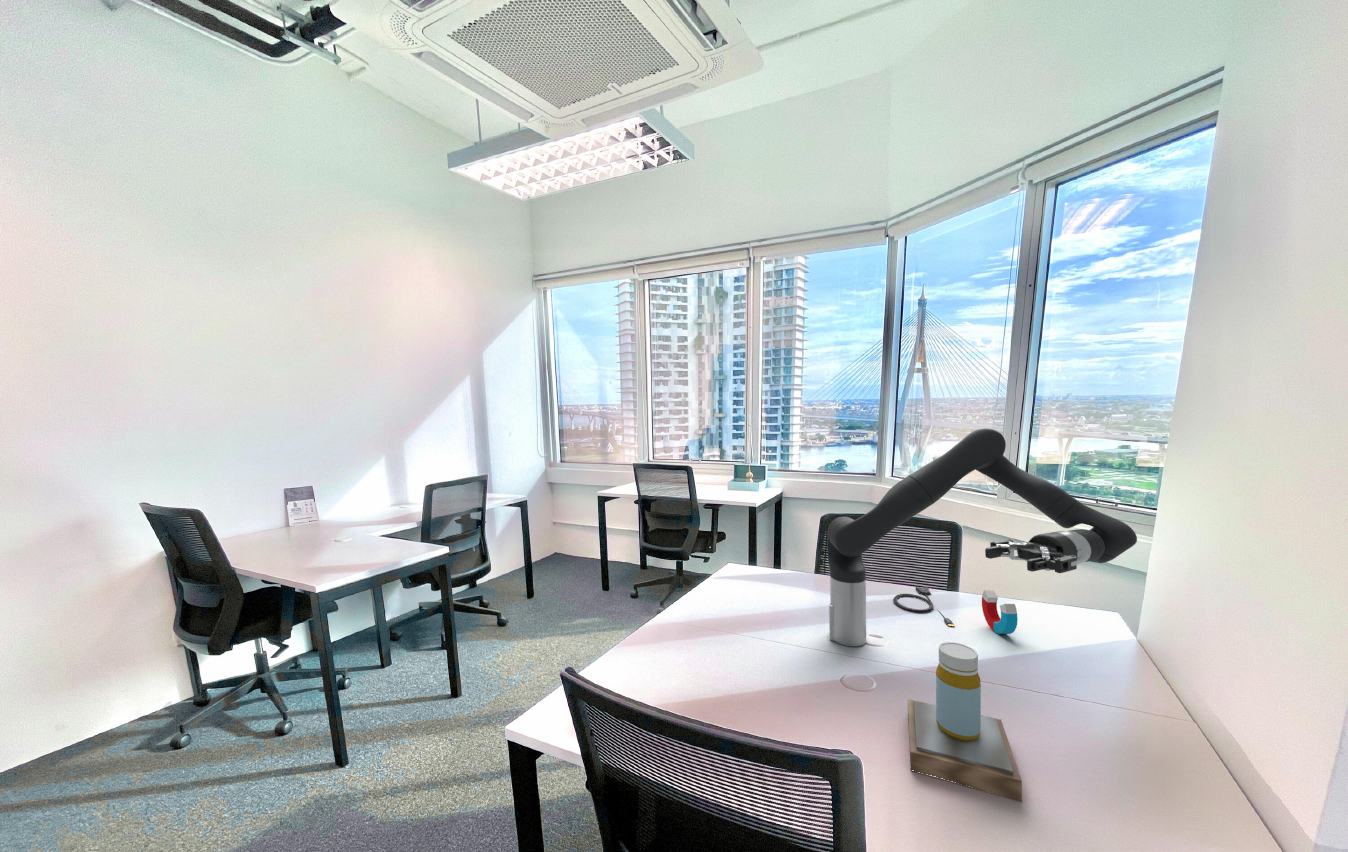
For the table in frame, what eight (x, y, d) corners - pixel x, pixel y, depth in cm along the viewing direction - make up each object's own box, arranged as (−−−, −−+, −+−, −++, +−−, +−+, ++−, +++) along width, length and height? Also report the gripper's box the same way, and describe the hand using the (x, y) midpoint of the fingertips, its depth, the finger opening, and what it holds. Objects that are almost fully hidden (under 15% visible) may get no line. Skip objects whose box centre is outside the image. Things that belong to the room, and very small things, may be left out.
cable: (903, 624, 137) (903, 619, 137) (885, 588, 164) (885, 583, 164) (955, 628, 134) (955, 623, 133) (928, 591, 161) (928, 586, 161)
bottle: (928, 718, 89) (927, 642, 89) (962, 715, 90) (962, 639, 89) (953, 744, 82) (953, 661, 82) (989, 741, 83) (990, 659, 82)
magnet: (1017, 642, 124) (1018, 605, 124) (1007, 642, 125) (1007, 605, 124) (991, 621, 136) (991, 588, 136) (981, 621, 136) (981, 588, 136)
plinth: (910, 770, 82) (910, 748, 82) (908, 715, 96) (907, 696, 96) (1021, 801, 75) (1021, 777, 75) (1001, 737, 89) (1001, 716, 89)
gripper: (1025, 525, 108) (974, 532, 102) (1098, 541, 94) (1044, 551, 89) (1024, 556, 108) (974, 566, 103) (1098, 577, 95) (1044, 589, 89)
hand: (1007, 559), depth 96 cm, fingers open, 8 cm apart
